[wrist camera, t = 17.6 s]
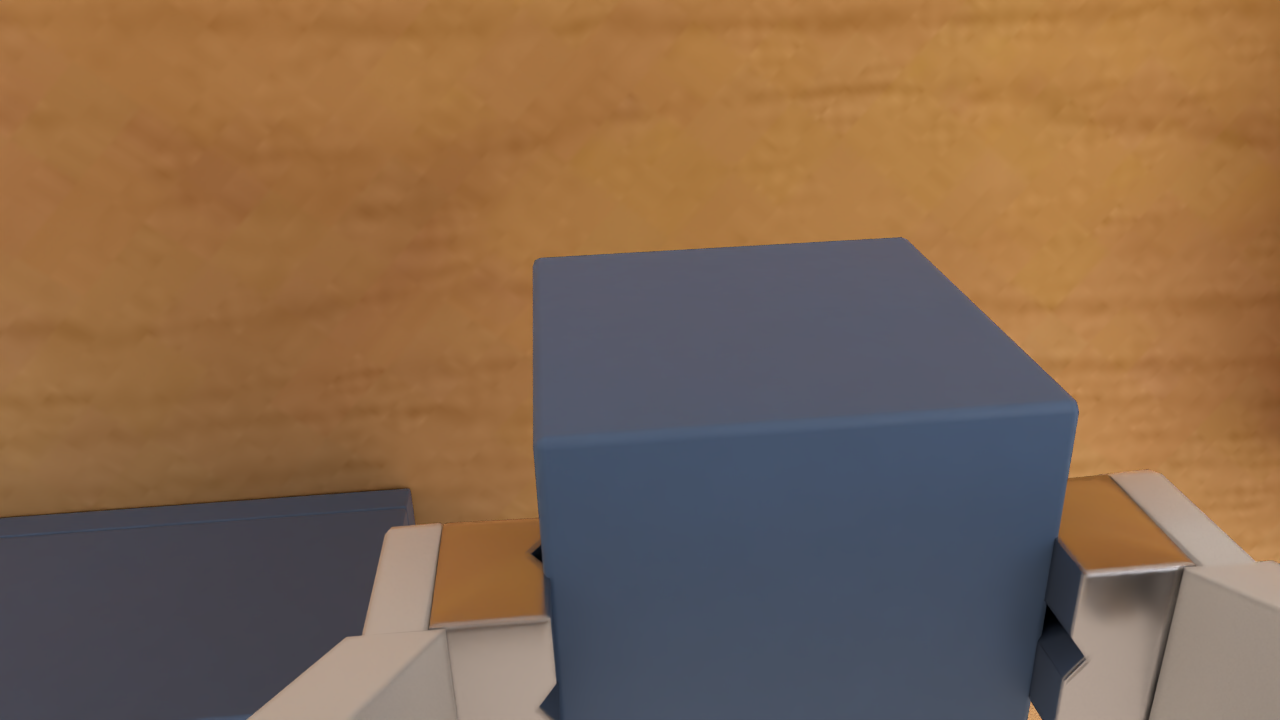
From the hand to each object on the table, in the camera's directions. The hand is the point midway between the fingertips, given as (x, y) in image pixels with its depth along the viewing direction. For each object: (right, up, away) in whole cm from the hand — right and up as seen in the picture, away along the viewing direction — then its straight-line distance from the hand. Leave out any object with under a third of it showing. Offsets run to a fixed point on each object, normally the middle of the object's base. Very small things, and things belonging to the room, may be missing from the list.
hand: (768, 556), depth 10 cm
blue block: (0, +1, +3) cm, 3 cm away
